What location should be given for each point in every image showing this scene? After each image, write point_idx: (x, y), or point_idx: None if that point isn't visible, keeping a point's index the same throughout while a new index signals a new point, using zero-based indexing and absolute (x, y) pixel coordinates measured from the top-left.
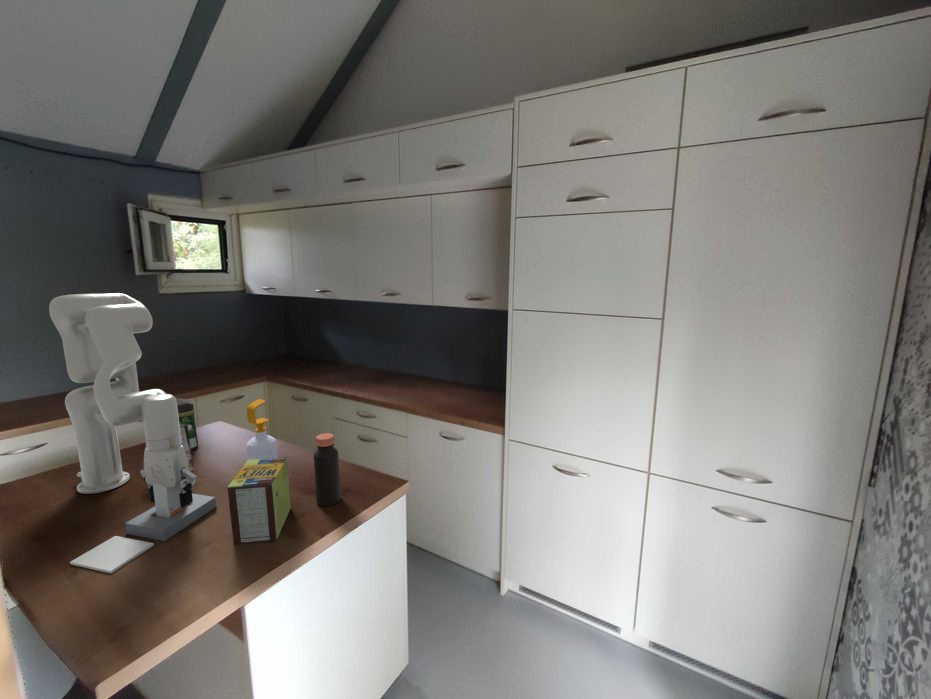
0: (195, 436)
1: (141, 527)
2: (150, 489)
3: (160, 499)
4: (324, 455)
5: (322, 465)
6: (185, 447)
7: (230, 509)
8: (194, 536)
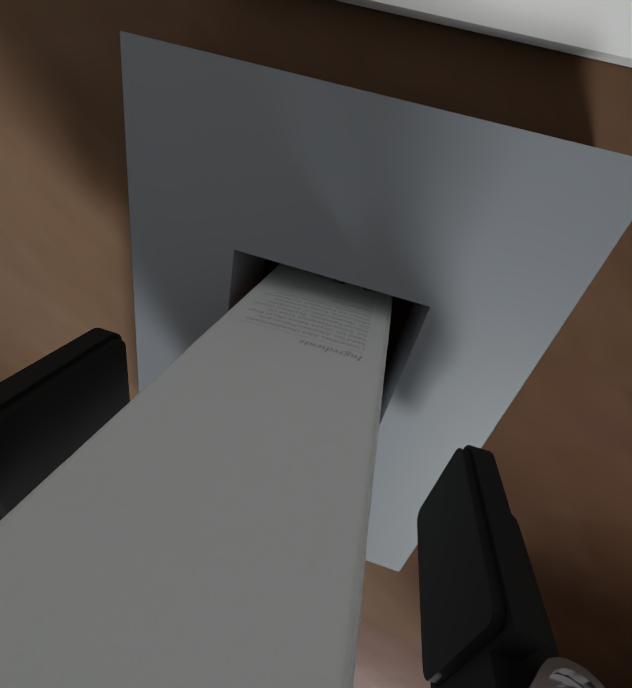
0: None
1: (412, 102)
2: (517, 627)
3: (270, 403)
4: None
5: None
6: None
7: None
8: (46, 142)
